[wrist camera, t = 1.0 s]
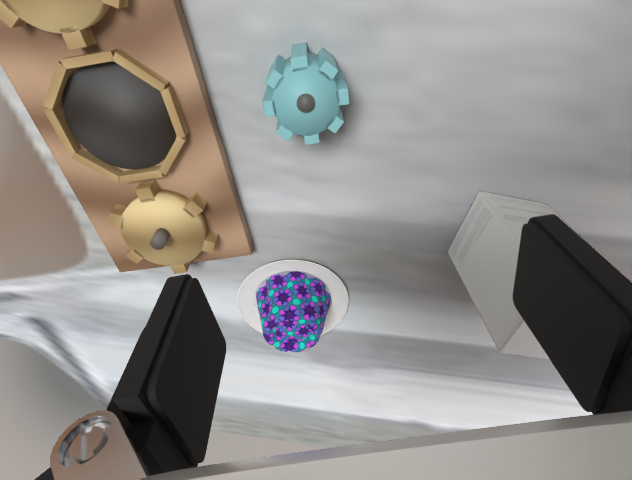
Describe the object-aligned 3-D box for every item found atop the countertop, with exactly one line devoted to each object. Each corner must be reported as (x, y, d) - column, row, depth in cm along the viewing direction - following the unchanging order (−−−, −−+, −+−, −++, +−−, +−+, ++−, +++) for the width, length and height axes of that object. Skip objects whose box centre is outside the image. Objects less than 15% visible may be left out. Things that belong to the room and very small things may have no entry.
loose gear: (261, 50, 28) (253, 64, 24) (338, 37, 28) (344, 49, 23) (276, 125, 31) (272, 150, 27) (346, 115, 31) (352, 138, 26)
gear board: (-79, -108, 23) (-154, -123, 19) (134, -152, 22) (99, -177, 18) (125, 262, 39) (107, 293, 35) (253, 245, 38) (247, 275, 34)
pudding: (304, 348, 47) (304, 386, 43) (217, 306, 43) (208, 344, 39) (370, 290, 42) (378, 326, 38) (279, 235, 38) (276, 269, 33)
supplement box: (444, 252, 39) (495, 355, 29) (479, 188, 35) (553, 280, 24) (510, 264, 40) (581, 367, 30) (551, 203, 36) (650, 298, 26)
